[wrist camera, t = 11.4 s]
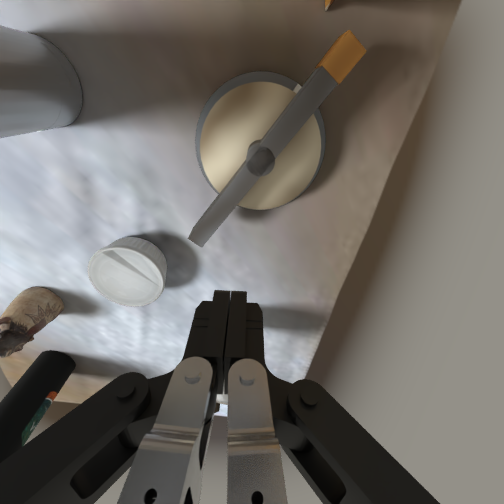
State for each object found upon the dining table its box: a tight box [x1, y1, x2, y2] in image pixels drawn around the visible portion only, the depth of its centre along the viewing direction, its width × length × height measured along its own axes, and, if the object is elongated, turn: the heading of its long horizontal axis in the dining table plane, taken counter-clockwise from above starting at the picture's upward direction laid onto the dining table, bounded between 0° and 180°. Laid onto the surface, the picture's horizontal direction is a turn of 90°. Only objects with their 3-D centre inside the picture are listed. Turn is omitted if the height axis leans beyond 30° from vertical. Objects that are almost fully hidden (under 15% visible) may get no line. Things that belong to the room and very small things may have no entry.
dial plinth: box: [195, 71, 326, 210], centre depth 33 cm, size 16×16×2 cm
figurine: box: [0, 287, 64, 358], centre depth 43 cm, size 7×7×12 cm
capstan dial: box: [188, 30, 367, 247], centre depth 29 cm, size 14×25×6 cm, turn 141°
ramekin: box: [88, 237, 167, 307], centre depth 41 cm, size 11×11×5 cm
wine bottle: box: [0, 351, 75, 463], centre depth 45 cm, size 8×8×30 cm
